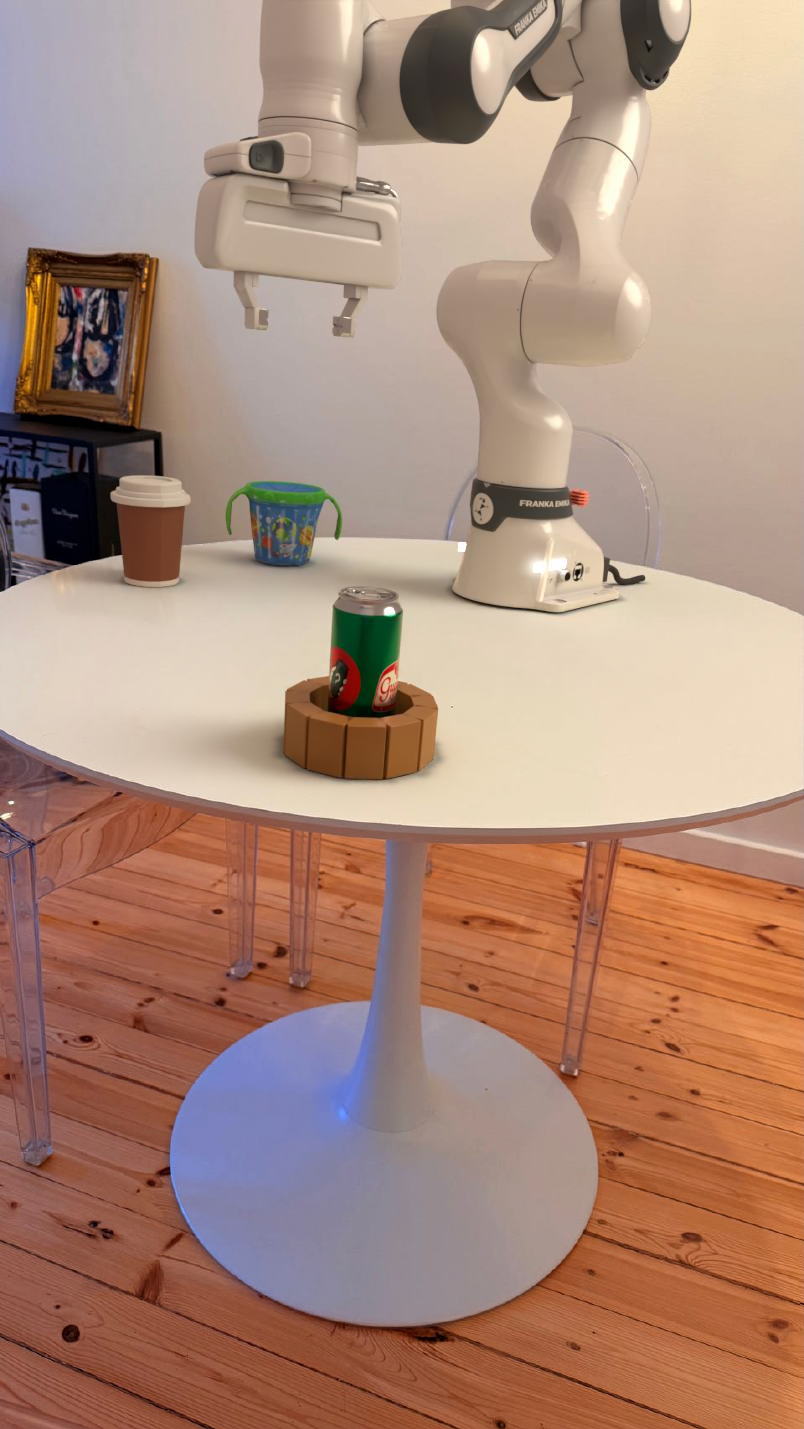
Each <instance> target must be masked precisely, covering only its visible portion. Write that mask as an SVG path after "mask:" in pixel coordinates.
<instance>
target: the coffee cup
mask: <svg viewBox="0 0 804 1429" xmlns="http://www.w3.org/2000/svg"><path fill="white" fill-rule="evenodd" d="M118 480H119V486H116V488H115V490H112V491H111V492H110V500H111V502H113V503H116V509H117V510H116V511H117V519H118V520H117V521H118V530H119V538H120V539H119V541H120V549H121V550H120V551H121V558H122V567H123V568H122V569H123V580H124V583H127V584H129V585H132V586H136V587H146V588H163V587H171V586H175V585H177V584H178V583H179V582H180V572H181V571H180V570H181V561H182V560H181V559H182V546H183V533H184V523H185V511H186V506H188V505H190V504H191V503H192V500H191V499H192V498H191V496H190V494H189V493H187V492H186V491H185V490H184V488H183V486H182V485H183V484H182V482H181V480H180V479H178V478H174V477H169V476H168V477H167V476H160V475H143V474H142V475H139V474H138V475H125V476H122V477H120V478H119V479H118Z"/></svg>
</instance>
